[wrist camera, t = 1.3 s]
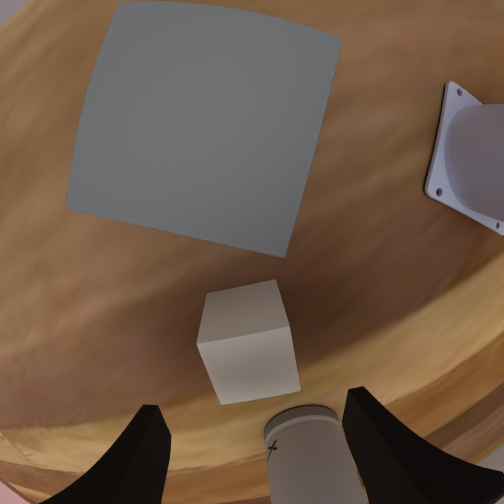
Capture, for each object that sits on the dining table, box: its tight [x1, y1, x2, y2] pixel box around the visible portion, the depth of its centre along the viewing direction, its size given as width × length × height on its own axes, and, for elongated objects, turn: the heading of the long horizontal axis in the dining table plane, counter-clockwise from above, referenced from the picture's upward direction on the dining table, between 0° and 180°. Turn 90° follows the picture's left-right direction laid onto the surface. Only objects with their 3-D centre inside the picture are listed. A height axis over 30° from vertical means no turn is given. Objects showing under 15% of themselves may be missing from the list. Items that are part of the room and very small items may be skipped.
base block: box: [66, 1, 342, 258], centre depth 12 cm, size 10×10×4 cm
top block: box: [196, 279, 301, 405], centre depth 15 cm, size 4×4×5 cm
